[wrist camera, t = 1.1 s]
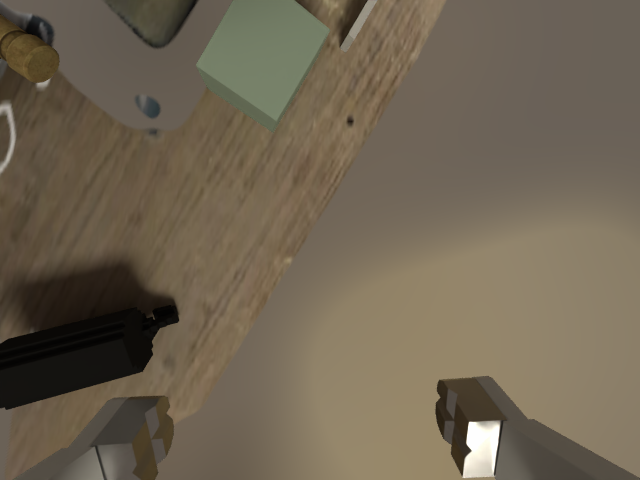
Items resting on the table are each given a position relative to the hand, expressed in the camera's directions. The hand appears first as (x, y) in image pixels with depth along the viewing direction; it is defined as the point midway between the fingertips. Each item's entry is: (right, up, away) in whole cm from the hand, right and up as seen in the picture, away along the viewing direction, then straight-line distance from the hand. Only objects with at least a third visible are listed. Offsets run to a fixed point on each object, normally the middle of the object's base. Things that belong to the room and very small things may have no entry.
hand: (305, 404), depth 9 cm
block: (-7, +28, +32) cm, 43 cm away
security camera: (-29, -8, +34) cm, 45 cm away
